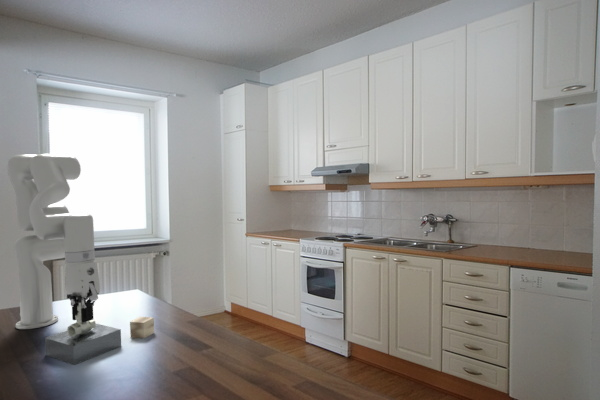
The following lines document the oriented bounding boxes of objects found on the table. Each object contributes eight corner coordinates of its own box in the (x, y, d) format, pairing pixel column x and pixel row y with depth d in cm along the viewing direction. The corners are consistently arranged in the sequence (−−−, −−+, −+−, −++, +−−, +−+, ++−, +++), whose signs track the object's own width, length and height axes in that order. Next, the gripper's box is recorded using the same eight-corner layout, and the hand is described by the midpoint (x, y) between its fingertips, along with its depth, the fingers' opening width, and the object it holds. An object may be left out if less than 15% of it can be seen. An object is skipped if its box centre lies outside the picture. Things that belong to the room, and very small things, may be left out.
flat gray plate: (45, 355, 111) (44, 337, 111) (93, 338, 123) (92, 322, 123) (74, 364, 104) (73, 346, 104) (121, 346, 116) (120, 329, 116)
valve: (63, 337, 111) (61, 295, 110) (82, 329, 117) (81, 289, 116) (81, 339, 108) (79, 296, 108) (100, 331, 115) (98, 290, 114)
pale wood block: (130, 337, 123) (129, 321, 123) (141, 331, 128) (140, 316, 128) (144, 338, 122) (143, 322, 122) (154, 332, 126) (153, 317, 126)
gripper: (110, 256, 112) (112, 319, 112) (76, 253, 120) (79, 312, 121) (84, 260, 105) (87, 328, 106) (50, 257, 114) (53, 319, 114)
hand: (82, 319), depth 113 cm, fingers open, 3 cm apart
